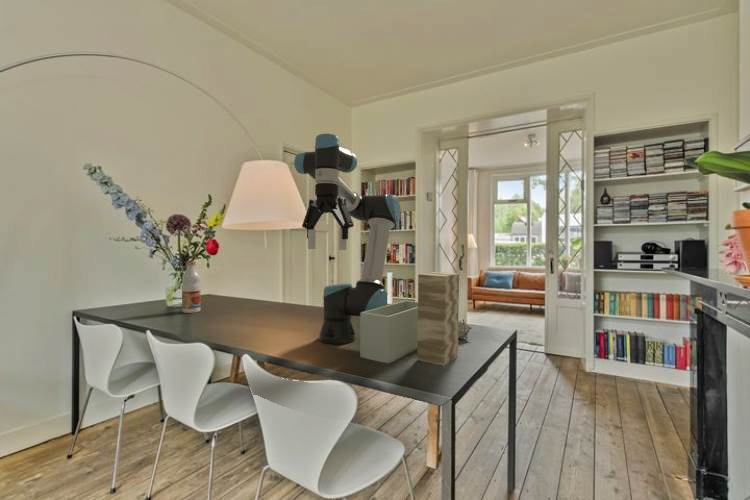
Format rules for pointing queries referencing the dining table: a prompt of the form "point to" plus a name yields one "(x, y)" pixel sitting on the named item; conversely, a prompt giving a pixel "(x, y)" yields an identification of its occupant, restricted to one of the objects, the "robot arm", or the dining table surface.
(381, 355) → the bin
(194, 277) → the fruit juice
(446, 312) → the stand
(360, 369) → the dining table surface
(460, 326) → the grey bushy clump
